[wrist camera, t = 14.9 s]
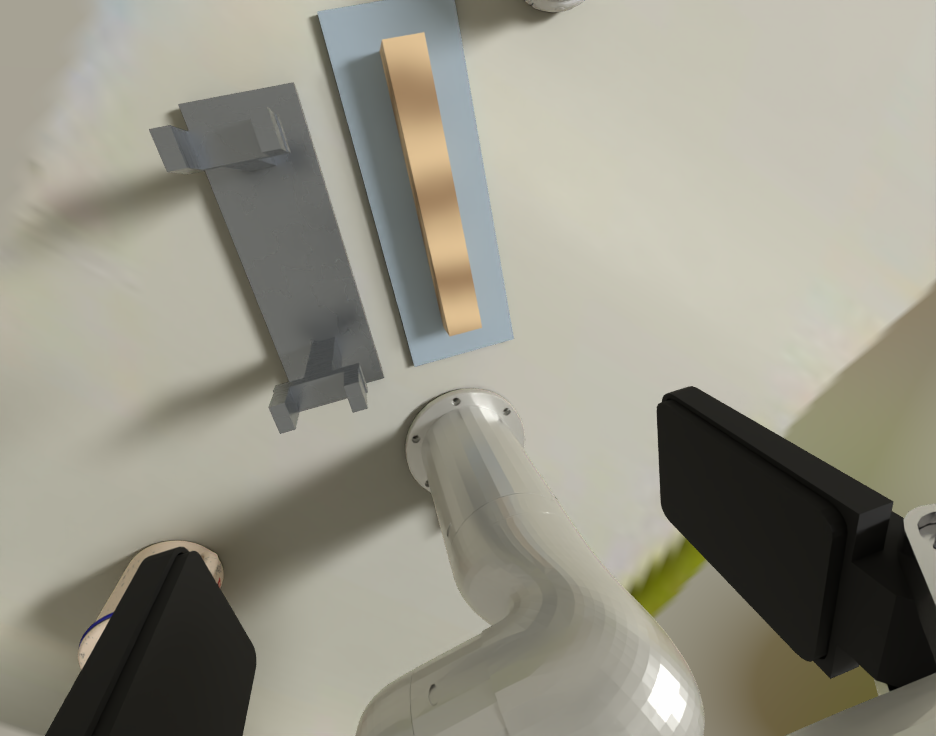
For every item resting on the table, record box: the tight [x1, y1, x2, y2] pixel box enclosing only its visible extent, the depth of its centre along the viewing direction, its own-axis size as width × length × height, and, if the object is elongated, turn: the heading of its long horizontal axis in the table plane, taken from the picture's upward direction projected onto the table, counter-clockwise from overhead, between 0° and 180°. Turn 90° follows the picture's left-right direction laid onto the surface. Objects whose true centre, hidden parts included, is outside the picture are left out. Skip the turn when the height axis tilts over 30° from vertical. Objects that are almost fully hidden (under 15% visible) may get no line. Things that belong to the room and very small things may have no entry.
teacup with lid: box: [78, 541, 224, 670], centre depth 41 cm, size 12×9×12 cm
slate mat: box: [317, 0, 514, 367], centre depth 39 cm, size 28×10×1 cm, turn 12°
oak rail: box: [379, 32, 482, 336], centre depth 38 cm, size 22×3×3 cm, turn 12°
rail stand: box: [149, 83, 384, 434], centre depth 33 cm, size 24×8×13 cm, turn 12°
